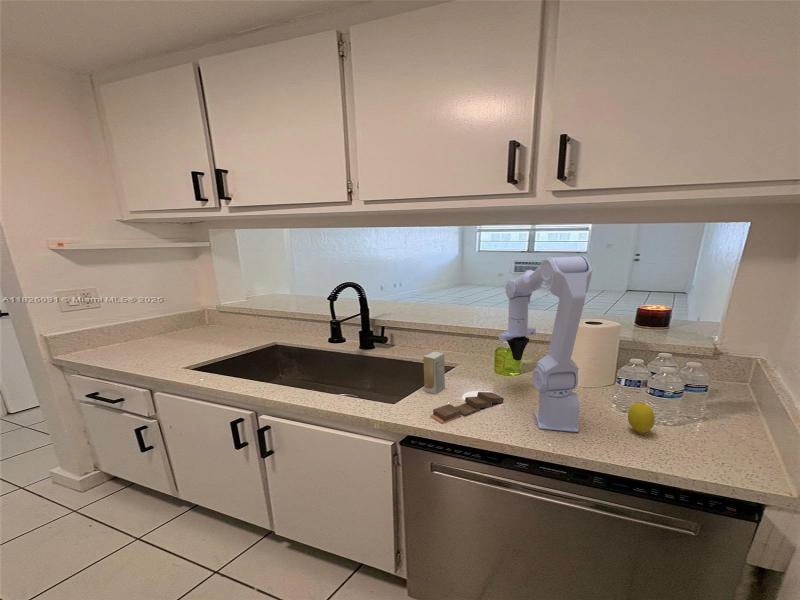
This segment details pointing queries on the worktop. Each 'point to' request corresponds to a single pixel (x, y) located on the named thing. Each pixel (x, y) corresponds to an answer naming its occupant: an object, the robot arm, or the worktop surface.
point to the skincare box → (434, 372)
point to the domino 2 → (441, 419)
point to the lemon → (641, 417)
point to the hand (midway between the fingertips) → (517, 359)
